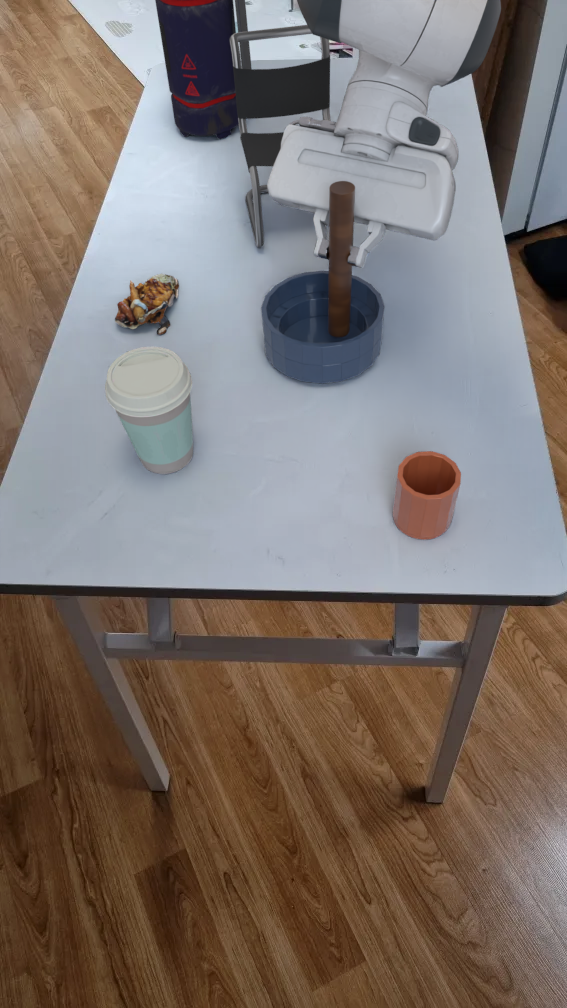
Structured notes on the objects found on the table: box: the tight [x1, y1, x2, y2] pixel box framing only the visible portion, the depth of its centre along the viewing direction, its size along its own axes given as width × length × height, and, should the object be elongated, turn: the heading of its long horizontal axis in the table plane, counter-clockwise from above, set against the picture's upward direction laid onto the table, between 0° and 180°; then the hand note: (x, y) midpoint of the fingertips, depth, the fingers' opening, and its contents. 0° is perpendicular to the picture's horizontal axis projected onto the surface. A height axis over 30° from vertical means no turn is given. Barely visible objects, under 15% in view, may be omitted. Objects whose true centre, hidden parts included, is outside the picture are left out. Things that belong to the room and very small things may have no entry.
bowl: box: [260, 269, 385, 384], centre depth 86 cm, size 14×14×6 cm
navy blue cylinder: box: [154, 0, 253, 140], centre depth 114 cm, size 14×12×30 cm
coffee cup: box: [104, 345, 194, 475], centre depth 74 cm, size 8×8×12 cm
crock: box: [392, 450, 462, 541], centre depth 70 cm, size 6×6×6 cm
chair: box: [230, 24, 332, 248], centre depth 98 cm, size 13×17×22 cm
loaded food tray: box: [114, 273, 180, 336], centre depth 94 cm, size 7×12×4 cm, turn 173°
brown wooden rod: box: [328, 181, 355, 337], centre depth 79 cm, size 3×3×18 cm
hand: (338, 261), depth 78 cm, fingers closed on brown wooden rod, 2 cm apart
